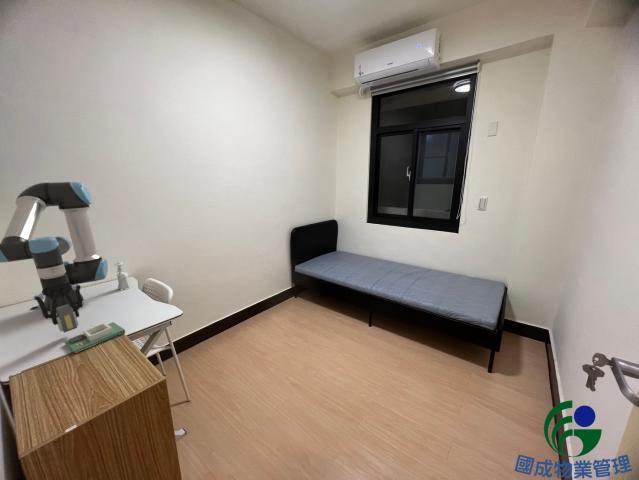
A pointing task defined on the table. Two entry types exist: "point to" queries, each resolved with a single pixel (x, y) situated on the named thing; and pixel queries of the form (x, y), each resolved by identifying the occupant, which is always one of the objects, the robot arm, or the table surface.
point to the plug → (66, 318)
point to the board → (94, 336)
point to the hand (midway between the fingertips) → (68, 327)
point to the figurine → (122, 277)
